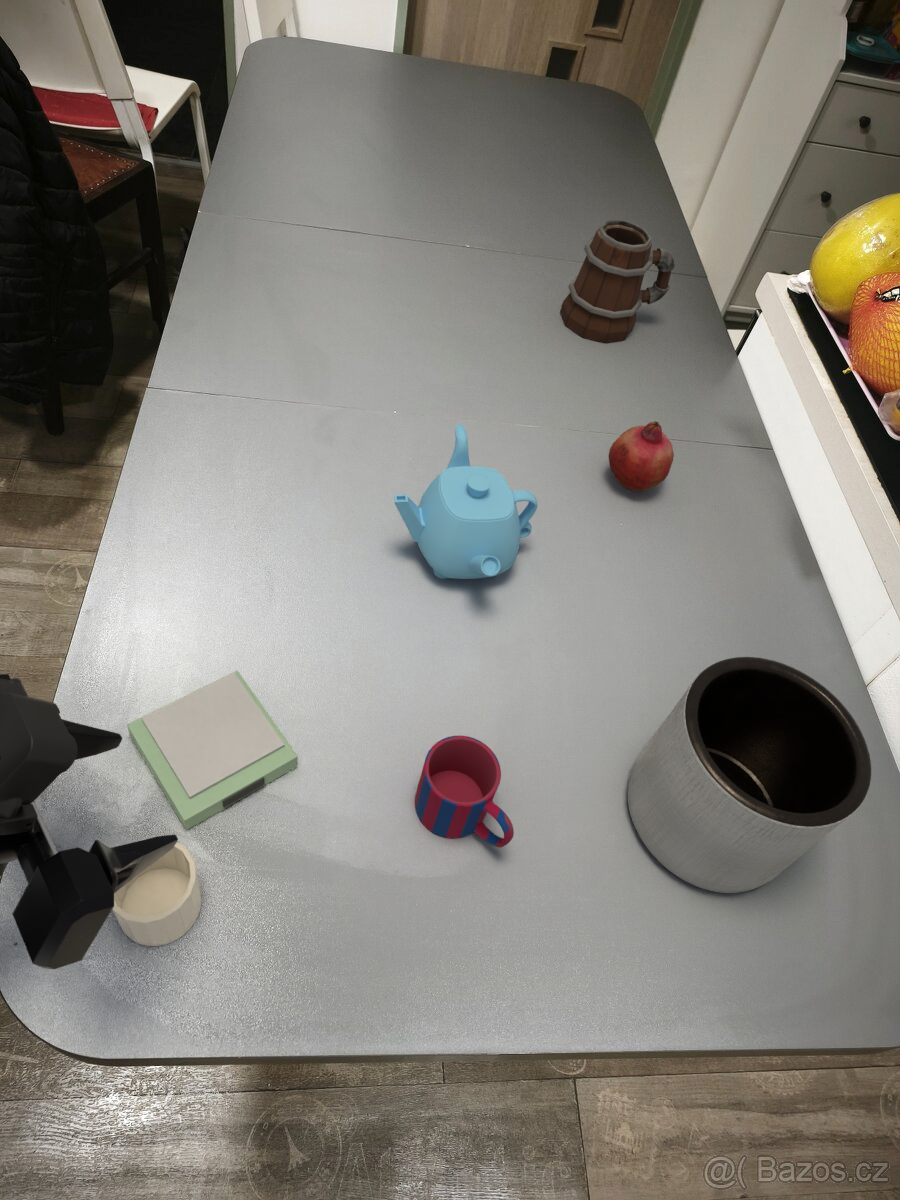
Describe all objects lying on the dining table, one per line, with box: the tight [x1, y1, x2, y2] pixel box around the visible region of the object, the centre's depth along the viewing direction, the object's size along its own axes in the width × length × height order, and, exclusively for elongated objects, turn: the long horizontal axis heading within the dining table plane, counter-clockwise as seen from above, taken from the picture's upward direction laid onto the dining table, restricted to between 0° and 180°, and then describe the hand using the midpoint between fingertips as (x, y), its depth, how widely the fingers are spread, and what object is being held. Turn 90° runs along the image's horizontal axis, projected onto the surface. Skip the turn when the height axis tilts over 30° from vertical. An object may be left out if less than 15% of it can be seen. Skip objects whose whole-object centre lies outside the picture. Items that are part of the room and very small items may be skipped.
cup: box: [414, 735, 515, 848], centre depth 72 cm, size 7×10×7 cm
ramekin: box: [112, 837, 203, 947], centre depth 63 cm, size 6×6×6 cm
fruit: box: [608, 420, 675, 492], centre depth 104 cm, size 8×8×10 cm
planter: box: [627, 656, 872, 894], centre depth 72 cm, size 16×16×16 cm
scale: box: [126, 670, 299, 831], centre depth 74 cm, size 11×11×2 cm
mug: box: [559, 218, 676, 344], centre depth 126 cm, size 16×12×15 cm
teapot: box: [393, 423, 538, 580], centre depth 91 cm, size 15×14×11 cm
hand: (146, 789), depth 56 cm, fingers open, 9 cm apart
